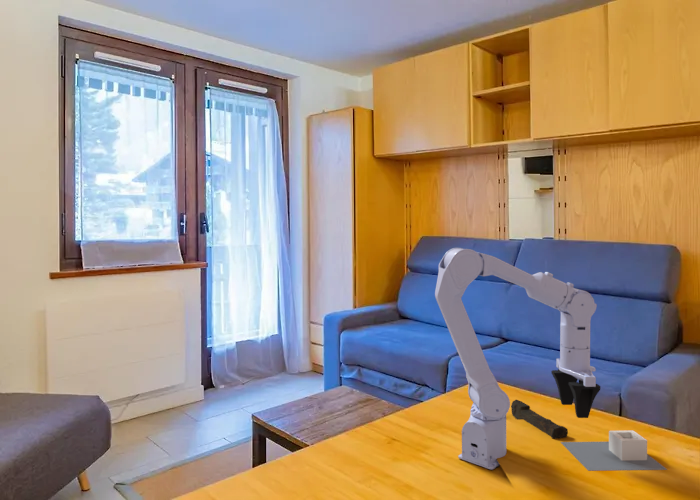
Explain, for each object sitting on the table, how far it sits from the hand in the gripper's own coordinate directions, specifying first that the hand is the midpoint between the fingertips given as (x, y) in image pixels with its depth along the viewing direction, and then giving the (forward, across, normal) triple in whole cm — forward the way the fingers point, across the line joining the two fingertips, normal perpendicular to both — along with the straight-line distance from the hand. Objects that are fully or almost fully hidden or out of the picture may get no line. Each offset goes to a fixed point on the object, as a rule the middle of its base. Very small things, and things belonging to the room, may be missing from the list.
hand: (574, 410), depth 106 cm
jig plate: (+9, -3, -6) cm, 11 cm away
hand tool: (+10, +14, +4) cm, 18 cm away
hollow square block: (+8, -3, -10) cm, 13 cm away
